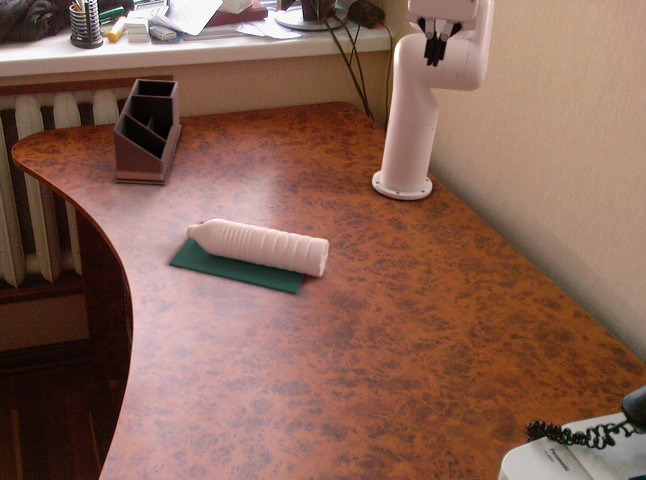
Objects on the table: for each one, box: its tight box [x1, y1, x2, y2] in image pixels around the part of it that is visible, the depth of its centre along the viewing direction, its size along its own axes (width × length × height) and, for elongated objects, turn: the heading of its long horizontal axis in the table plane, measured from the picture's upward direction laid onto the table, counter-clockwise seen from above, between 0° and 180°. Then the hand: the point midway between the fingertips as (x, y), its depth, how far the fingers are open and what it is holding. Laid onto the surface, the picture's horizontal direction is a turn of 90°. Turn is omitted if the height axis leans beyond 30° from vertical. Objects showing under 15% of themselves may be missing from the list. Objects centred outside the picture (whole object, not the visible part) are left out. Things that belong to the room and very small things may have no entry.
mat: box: [169, 221, 307, 295], centre depth 132 cm, size 15×23×1 cm, turn 72°
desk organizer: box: [112, 78, 182, 186], centre depth 160 cm, size 10×29×11 cm, turn 179°
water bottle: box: [186, 218, 330, 278], centre depth 130 cm, size 9×6×25 cm
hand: (432, 63), depth 115 cm, fingers closed
